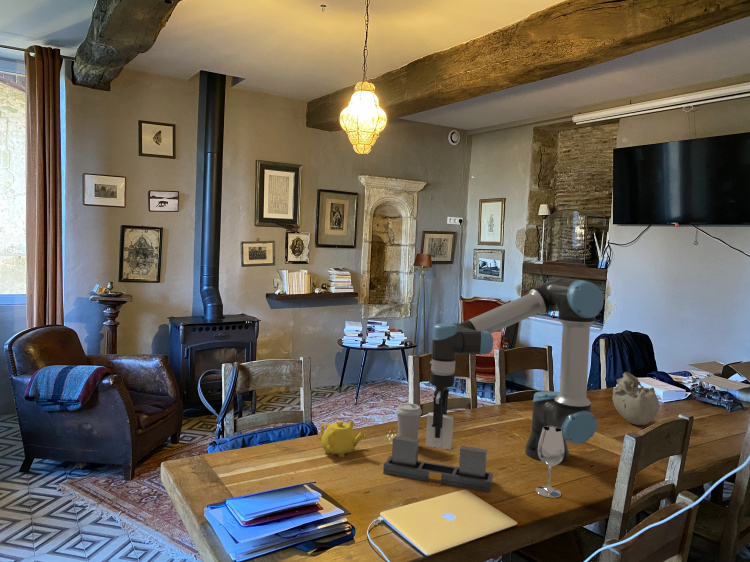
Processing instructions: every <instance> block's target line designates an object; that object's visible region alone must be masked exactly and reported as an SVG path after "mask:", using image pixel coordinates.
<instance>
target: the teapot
mask: <svg viewBox="0 0 750 562" xmlns="http://www.w3.org/2000/svg"><path fill="white" fill-rule="evenodd" d="M354 426H355V422H354V421H352V420H349V421H348V423H345V422H344V420H336V422H332V423H330V424H329V423H323V424H321V426H320V435H319V437H318V440H319V441H320V445H321V446H322V448H323V449H324V451H325V452H324V453H325V455H331V454H335V455H338V457H339V458H345V457H346V456H345V455H346V454H348V453H352V452H353V451H354V449H356V447H357V445H358V443H360V442H361V440H362V439H363V438H365V436H366V433H365V432H363V431H361V430H360V432H359V433H358V434H357V435H356V433H355V431H354V429H353V428H354ZM324 427H327V428H326V429H325V430H324Z"/></svg>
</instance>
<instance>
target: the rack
mask: <svg viewBox="0 0 750 562" xmlns="http://www.w3.org/2000/svg"><path fill="white" fill-rule="evenodd" d="M419 442H420V439H419V438H417V439H414V438H407V437H400V436H398V435H395V436H393V438H392V447H391V448H392V449H391V452H392V453H391V455H389V457H388V458H387V460H386V461H385V462H383V470H382V471H383V473H382V474H384V475H391V476H395V477H403V478H406V479H412V480H419V481H424V482H427V483H426V484H427V485H430V486H436V487H440V486H441V485H448V486H453V487H459V488H465V489H470V490H475V491H482V492H487V493H490V491H491V488H492V485H493V481H494V480H493V475H494V473H493V472H490V471H486V470H487V457H488V456H487V455H488V450H487V449H485V448H479V447H478V448H477V447H473V446H472V447H471V446H465V445H461V446H460V449H459V460H458V461H459V464H458V466H452V465H448V464H441V463H435V462H429V461H422V460H419V447H420V446H419Z"/></svg>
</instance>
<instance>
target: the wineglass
mask: <svg viewBox="0 0 750 562" xmlns="http://www.w3.org/2000/svg"><path fill="white" fill-rule="evenodd" d="M538 456H539V458H540V459H541V460H540V461H541V462H542V463H543V464H544V465H546V466H547V469H548V471H547V484H546V486H545V485H542V486H538V487H536V488H535V492H536V493H537V494H538V495H540V496H542V497H545V498H550V499H551V498H552V499H554V498H559V497H561V496H562V492H561V491H560V490H559V489H557V488H555V487H552V486H551V476H552V474H551V473H552V468H553V466H554V467H555V466H557V465H559V464H561V463H562V462H561V461H562V460H563V458H564V441H563V434H562V430H561V429H560V428H558V427H554V426H544V427H543V429H542V432H541V436H540V439H539V443H538Z"/></svg>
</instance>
